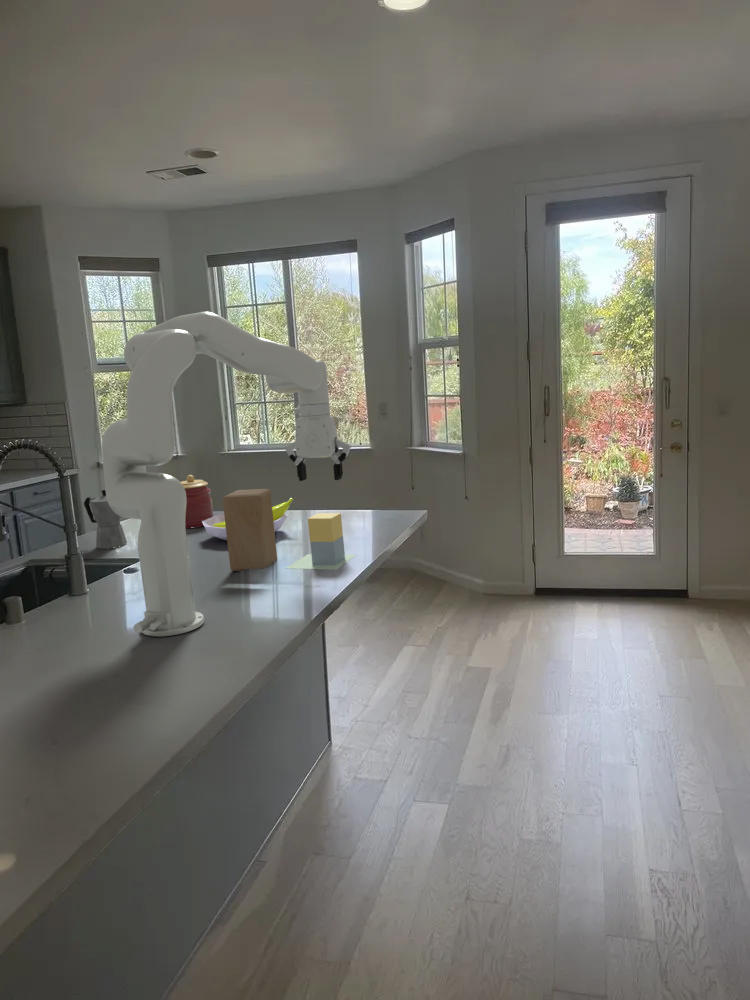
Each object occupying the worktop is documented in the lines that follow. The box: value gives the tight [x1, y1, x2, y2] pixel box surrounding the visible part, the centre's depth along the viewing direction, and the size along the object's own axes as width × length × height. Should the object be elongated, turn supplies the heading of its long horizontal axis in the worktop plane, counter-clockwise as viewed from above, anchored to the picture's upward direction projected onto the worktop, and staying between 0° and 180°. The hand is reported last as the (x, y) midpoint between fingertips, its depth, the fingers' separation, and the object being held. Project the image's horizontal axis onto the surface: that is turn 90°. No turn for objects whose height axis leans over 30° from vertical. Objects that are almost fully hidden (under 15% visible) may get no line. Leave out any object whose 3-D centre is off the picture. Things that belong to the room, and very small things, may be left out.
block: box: [222, 488, 278, 572], centre depth 191 cm, size 10×10×20 cm
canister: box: [180, 474, 215, 529], centre depth 254 cm, size 13×13×18 cm
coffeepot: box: [83, 489, 128, 549], centre depth 231 cm, size 15×9×18 cm, turn 67°
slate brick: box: [309, 535, 346, 565], centre depth 188 cm, size 6×6×6 cm
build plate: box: [284, 553, 357, 571], centre depth 189 cm, size 14×14×1 cm
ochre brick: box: [307, 512, 344, 542], centre depth 187 cm, size 6×6×6 cm
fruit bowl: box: [202, 497, 295, 541], centre depth 230 cm, size 28×27×11 cm
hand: (320, 479), depth 185 cm, fingers open, 9 cm apart
